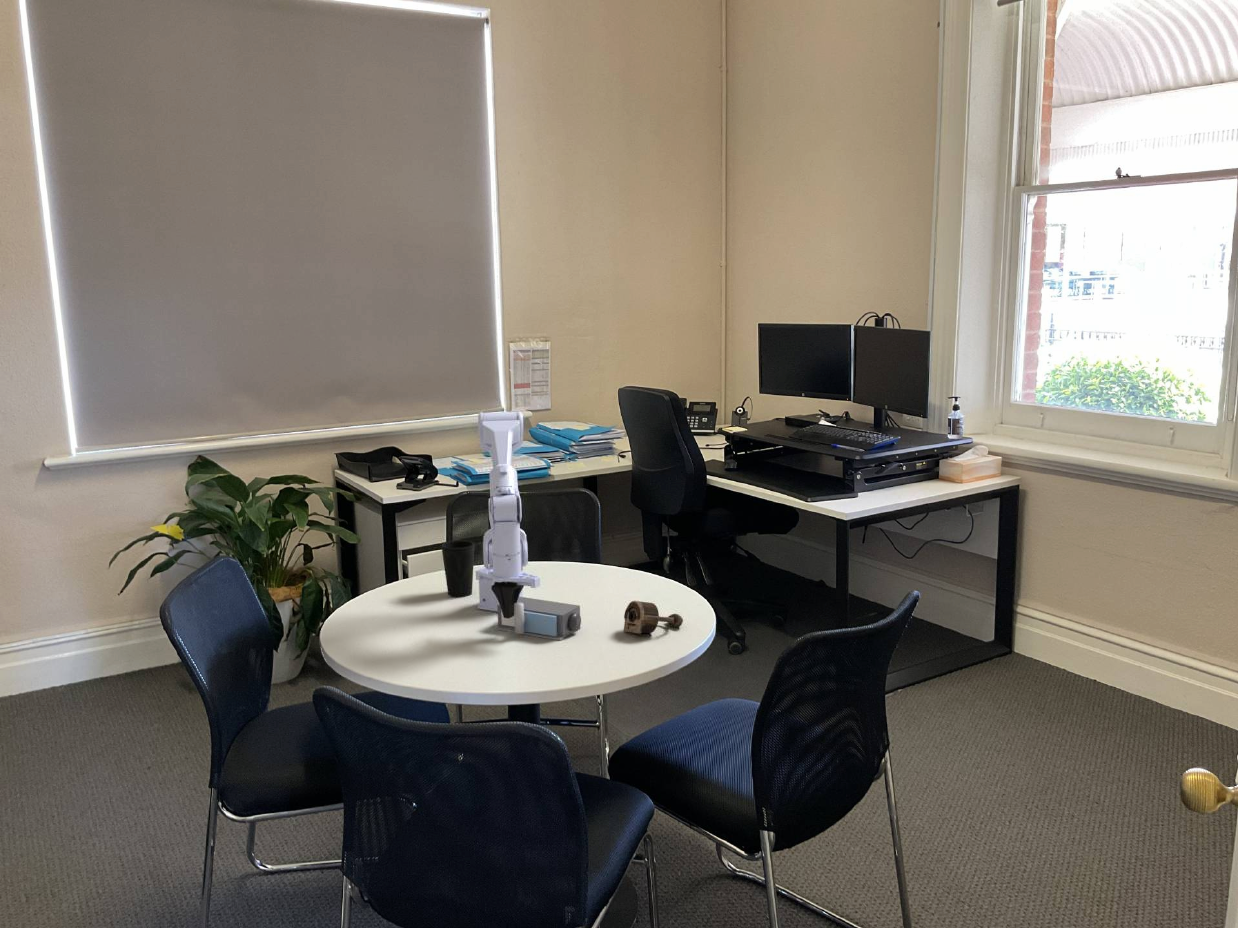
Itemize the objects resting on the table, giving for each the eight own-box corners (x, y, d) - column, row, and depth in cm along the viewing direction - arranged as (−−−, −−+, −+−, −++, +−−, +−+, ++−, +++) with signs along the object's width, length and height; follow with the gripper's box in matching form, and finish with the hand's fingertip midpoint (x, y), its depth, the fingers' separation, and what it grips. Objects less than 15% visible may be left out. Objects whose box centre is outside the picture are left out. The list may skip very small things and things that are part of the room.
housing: (495, 629, 208) (494, 606, 207) (516, 618, 215) (515, 595, 214) (565, 641, 200) (565, 617, 199) (585, 629, 207) (584, 606, 206)
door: (512, 634, 203) (511, 604, 201) (521, 629, 205) (520, 600, 204) (548, 640, 199) (547, 610, 198) (557, 635, 201) (556, 605, 200)
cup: (483, 591, 234) (481, 542, 232) (461, 600, 228) (459, 550, 226) (458, 587, 238) (456, 538, 236) (436, 595, 232) (434, 545, 230)
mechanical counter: (616, 600, 209) (623, 604, 199) (675, 591, 211) (685, 594, 201) (621, 634, 209) (628, 639, 199) (680, 624, 211) (690, 629, 201)
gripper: (465, 553, 201) (468, 617, 203) (525, 561, 194) (528, 627, 197) (485, 545, 207) (488, 607, 210) (544, 552, 201) (546, 617, 203)
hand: (508, 616), depth 204 cm, fingers closed
